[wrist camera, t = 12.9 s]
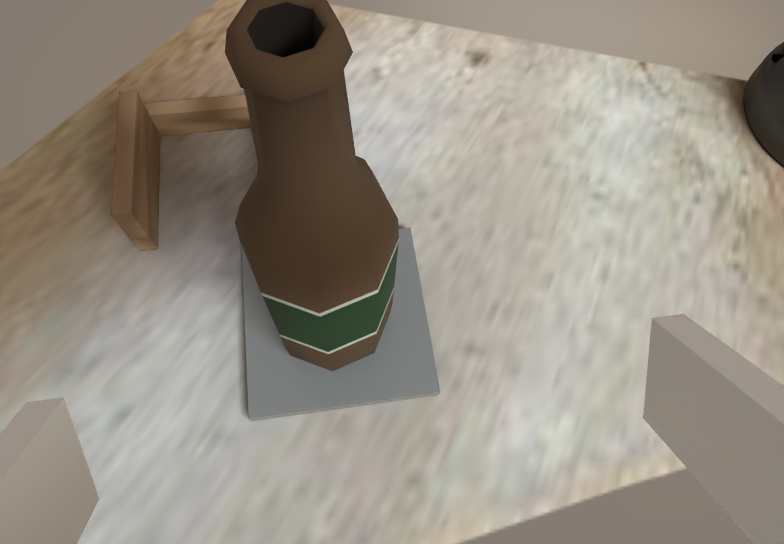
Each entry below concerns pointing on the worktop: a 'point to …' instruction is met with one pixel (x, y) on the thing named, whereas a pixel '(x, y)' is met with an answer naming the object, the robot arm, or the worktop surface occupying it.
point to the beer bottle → (310, 186)
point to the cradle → (158, 152)
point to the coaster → (354, 381)
